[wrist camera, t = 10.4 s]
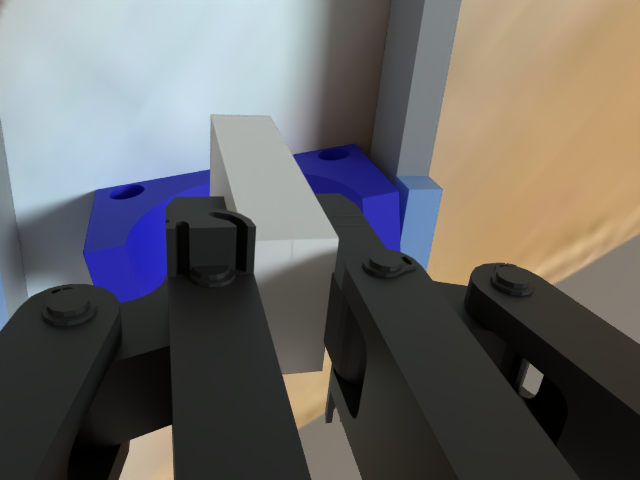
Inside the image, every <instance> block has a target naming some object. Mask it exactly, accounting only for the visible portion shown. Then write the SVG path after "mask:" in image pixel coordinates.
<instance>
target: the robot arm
mask: <svg viewBox="0 0 640 480" xmlns="http://www.w3.org/2000/svg"><path fill="white" fill-rule="evenodd" d="M165 228H166V262H167V275H166V279H165V280H164V282H163V283H162V284H161V285H160V286H159V287H158V288H157V289H156V290H154V291H153V292H151V293H149V294H147V295H145V296H143V297H140V298H137V299H134V300H131V301H127V302H123V303H120V302H119V301H118V299H117V298H116V296H115V294H113V293H112V292H110V291H108V290H106V289H104V288H103V287H98V286H93V285H88V284H68V285H61V286H57V287H53V288H50V289H47V290H44V291H42V292H40V293H38V294H35V295H33V296H31V297H30V298H29V299H28V300H27V301H25V302H24V303H23V304H22V305H21V306H20V307H19V308H18V309H17V310H16V312H15V313H14V314H13V316H12V317H11V318H10V319H9V321H8V322H7V323H6V324H5V326H4V327H3V328H2V330H1V331H0V480H119V477H120V475H121V472H122V469H123V466H124V463H125V461H126V458H127V455H128V452H129V445H130V440H131V439H134V438H137V437H139V436H142V435H145V434H147V433H150V432H153V431H156V430H158V429H161V428H164V427H166V426H169V425H172V442H173V469H174V480H311V477H310V474H309V470H308V466H307V463H306V459H305V455H304V452H303V448H302V445H301V441H300V437H299V434H298V430H297V427H296V423H295V419H294V416H293V412H292V409H291V405H290V401H289V398H288V394H287V391H286V387H285V383H284V380H283V376H282V374H293V373H304V372H315V371H322V368H323V360H324V352H325V346H326V349H327V351H328V354H329V357H330V359H331V362H332V366H331V373H330V380H329V388H328V395H327V403H326V410H325V420H326V423H331V422H332V417H333V411H334V409H335V407H336V408H337V411H338V414H339V416H340V421H341V422H342V425H343V427H344V430H345V433H346V436H347V439H348V441H349V444H350V447H351V449H352V452H353V455H354V458H355V461H356V463H357V466H358V469H359V472H360V475H361V477H362V480H640V344H638V343H637V342H635V341H634V340H632V339H631V338H630V337H628V336H627V335H625V334H624V333H622V332H620V331H619V330H618V329H616V328H615V327H613V326H612V325H610V324H609V323H607V322H606V321H604V320H603V319H601V318H600V317H598V316H597V315H596V314H594V313H593V312H591V311H590V310H588V309H587V308H585V307H584V306H582V305H580V304H579V303H578V302H576V301H575V300H573V299H572V298H571V297H569V296H568V295H566V294H565V293H563V292H562V291H560V290H559V289H557V288H556V287H554V286H553V285H551V284H550V283H548V282H547V281H545V280H544V279H543V278H541V277H539V276H538V275H536V274H534V273H532V272H530V271H528V270H526V269H523V268H520V267H517V266H516V265H513V264H508V263H507V264H505V263H491V264H483V265H481V266H478V267H476V268H475V269H474V270H473V272H472V273H471V276H470V280H469V284H468V286H464V285H457V284H450V283H442V282H437V281H433V280H432V279H431V278H430V276H429V275H428V274H427V272H426V271H425V270H424V268H423V267H422V266H421V265H420V264H419V263H418V262H417V261H416V260H415V259H414V258H412V257H410V256H408V255H406V254H404V253H402V252H399V251H395V250H391V249H387V248H386V247H385V246H384V244H383V243H382V241H381V240H380V238H379V237H378V235H377V234H376V232H375V231H374V230H373V228H372V227H371V226H370V224H369V222H368V221H367V219H366V218H365V217H363V213H362V212H361V210H360V209H359V208H358V206H357V205H356V203H354V202H353V201H351V200H350V199H348V198H346V197H345V196H343V195H342V194H340V193H331V194H314V193H313V191H312V189H311V188H310V186H309V184H308V182H307V180H306V179H305V177H304V175H303V173H302V171H301V170H300V168H299V166H298V164H297V162H296V161H295V159H294V157H293V155H292V154H291V152H290V150H289V148H288V146H287V145H286V143H285V141H284V139H283V137H282V136H281V134H280V132H279V130H278V128H277V127H276V125H275V123H274V121H273V120H272V118H271V116H255V115H214V114H211V131H210V196H209V197H174V198H173V200H172V201H171V202H170V203H169V204H168V205H167V206H166V207H165ZM530 363H531V364H532V365H533V366H534V367H535V368H536V369H538V370H539V371H540V372H541V373H542V374H544V376H543V379H542V382H541V385H540V388H539V390H538V393H537V394H536V395H534V394H531V393H530V392H529V391H527V390H526V389H525V388H524V387H522V385H523V382H524V379H525V376H526V373H527V370H528V367H529V364H530Z"/></svg>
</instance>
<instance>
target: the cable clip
mask: <svg viewBox="0 0 640 480" xmlns="http://www.w3.org/2000/svg"><path fill="white" fill-rule="evenodd" d="M293 157H294V159H295V161H296V162H297V164H298V166H299V168H300V170H301V171H302V173H303V175H304V177H305V179H306V180H307V182H308V184H309V186H310V188H311V189H312V191H313V193H314V194H331V193H340V194H342V195H343V196H345V197H346V198H348V199H350V200H351V201H353V202H354V203H356V205H357V206H358V208H359V209H360V210H361V212H362V213H363V217H365V218H366V219H367V221H368V222H369V224H370V226H371V227H372V228H373V230H374V231H375V232H376V234H377V235H378V237H379V238H380V240H381V241H382V243H383V244H384V246H385V247H386V248H387V249H391V250H395V251H399V252H401V248H400V213H399V191H398V190H397V189H396V188H395V187H394V185H393V184H392V183H391V182H390V181H389V180H388V179H387V178H386V177H385V176H384V175H383V173H382V172H381V171H380V170H379V169H378V168H377V167H376V166H375V165H374V164H373V163H372V162H371V160H370V159H369V158H368V157H367V156H366V155H365V154H364V153H363V152H362V151H361V150H360V149H359V147H358V146H357V145H356V144H349V145H344V146H338V147H333V148H327V149H322V150H316V151H310V152H305V153H299V154H294V155H293ZM209 196H210V170H204V171H199V172H193V173H187V174H182V175H176V176H171V177H165V178H160V179H154V180H148V181H143V182H137V183H132V184H126V185H120V186H115V187H109V188H104V189H98V190H96V192H95V197H94V202H93V207H92V212H91V216H90V221H89V226H88V231H87V236H86V241H85V245H84V250H83V255H84V258H85V261H86V264H87V267H88V270H89V273H90V276H91V279H92V281H93V284H94V286H98V287H103V288H104V289H106V290H108V291H110V292H112V293H113V294H115V296H116V298H117V299H118V301H119V302H120V303H123V302H127V301H131V300H134V299H137V298H140V297H143V296H145V295H147V294H149V293H151V292H153V291H154V290H156V289H157V288H158V287H159V286H160V285H161V284H162V283H163V282H164V280H165V279H166V275H167V262H166V228H165V207H166V206H167V205H168V204H169V203H170V202H171V201H172V200H173V198H174V197H209Z"/></svg>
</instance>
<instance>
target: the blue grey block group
mask: <svg viewBox="0 0 640 480" xmlns="http://www.w3.org/2000/svg"><path fill="white" fill-rule="evenodd" d="M460 5H461V0H391V6H390V13H389V20H388V27H387V35H386V42H385V49H384V57H383V64H382V71H381V78H380V86H379V93H378V100H377V107H376V115H375V122H374V129H373V137H372V144H371V151H370V158H369V159H370V160H371V162H372V163H373V164H374V165H375V166H376V167H377V168H378V169H379V170H380V171H381V172H382V173H383V175H384V176H385V177H386V178H387V179H388V180H389V181H390V182H391V183H392V184H393V185H394V187H395V188H396V189H397V190H398V191H399V213H400V248H401V252H402V253H404V254H406V255H408V256H410V257H412V258H414V259H415V260H416V261H417V262H418V263H419V264H420V265H421V266H422V267H423V268H424V270H425V271H426V270H427V265H428V261H429V256H430V251H431V246H432V241H433V236H434V231H435V226H436V221H437V216H438V211H439V206H440V201H441V196H442V191H443V189H442V188H441V187H440V186H439V185H438V184H437V183H435V182H434V181H433V180H432V179H431V178H430V177H429V170H430V165H431V160H432V154H433V149H434V144H435V138H436V133H437V128H438V122H439V117H440V112H441V106H442V101H443V96H444V90H445V85H446V80H447V74H448V69H449V64H450V58H451V53H452V48H453V42H454V37H455V32H456V26H457V21H458V16H459V10H460ZM27 300H28V294H27V287H26V281H25V275H24V268H23V262H22V255H21V249H20V243H19V236H18V230H17V223H16V217H15V211H14V204H13V198H12V191H11V185H10V179H9V172H8V166H7V160H6V153H5V147H4V140H3V134H2V128H1V121H0V331H1V330H2V328H3V327H4V326H5V324H6V323H7V322H8V321H9V319H10V318H11V317H12V316H13V314H14V313H15V312H16V310H17V309H18V308H19V307H20V306H21V305H22V304H23V303H24V302H25V301H27Z"/></svg>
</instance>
